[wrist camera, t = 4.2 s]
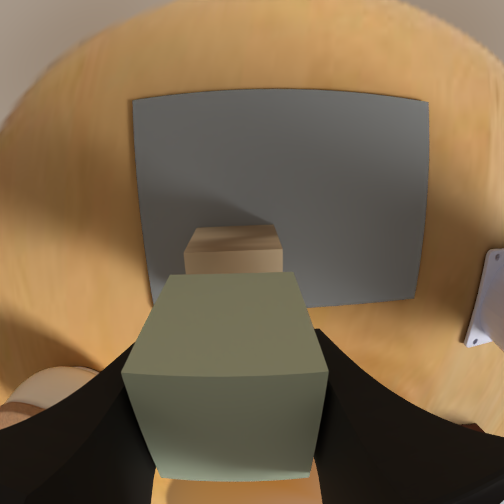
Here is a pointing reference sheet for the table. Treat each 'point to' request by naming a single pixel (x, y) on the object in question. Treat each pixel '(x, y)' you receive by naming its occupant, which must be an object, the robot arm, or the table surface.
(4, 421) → the lidded jar
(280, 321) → the green block
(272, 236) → the beech cube
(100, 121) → the table surface
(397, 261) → the slate mat
